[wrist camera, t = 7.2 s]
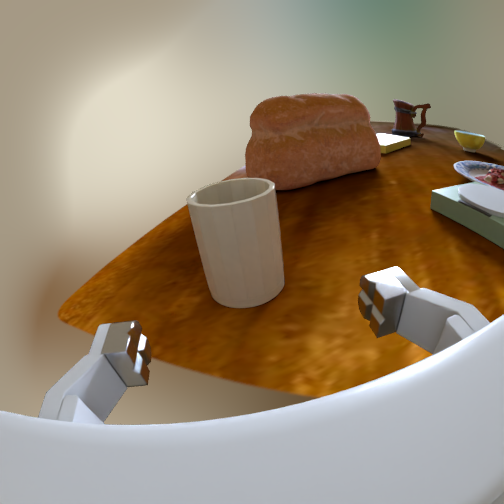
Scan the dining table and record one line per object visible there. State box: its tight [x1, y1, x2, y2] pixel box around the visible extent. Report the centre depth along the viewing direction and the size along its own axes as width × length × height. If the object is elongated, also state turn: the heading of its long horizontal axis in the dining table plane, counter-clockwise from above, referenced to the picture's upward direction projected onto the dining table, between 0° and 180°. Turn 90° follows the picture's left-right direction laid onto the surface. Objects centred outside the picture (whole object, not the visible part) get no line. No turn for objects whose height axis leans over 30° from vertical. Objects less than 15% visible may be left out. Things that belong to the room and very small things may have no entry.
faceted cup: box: [187, 178, 285, 308], centre depth 21 cm, size 6×6×8 cm
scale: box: [430, 182, 504, 249], centre depth 26 cm, size 14×13×3 cm
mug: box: [392, 99, 431, 137], centre depth 90 cm, size 18×12×15 cm, turn 37°
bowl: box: [455, 130, 485, 152], centre depth 65 cm, size 11×12×6 cm
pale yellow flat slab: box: [376, 134, 411, 153], centre depth 73 cm, size 12×2×24 cm
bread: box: [245, 93, 381, 190], centre depth 47 cm, size 14×26×15 cm, turn 118°
